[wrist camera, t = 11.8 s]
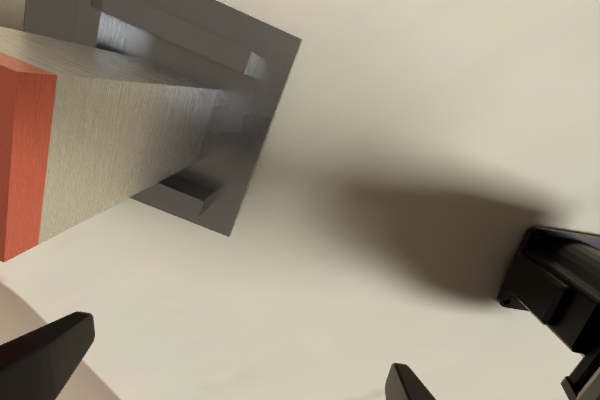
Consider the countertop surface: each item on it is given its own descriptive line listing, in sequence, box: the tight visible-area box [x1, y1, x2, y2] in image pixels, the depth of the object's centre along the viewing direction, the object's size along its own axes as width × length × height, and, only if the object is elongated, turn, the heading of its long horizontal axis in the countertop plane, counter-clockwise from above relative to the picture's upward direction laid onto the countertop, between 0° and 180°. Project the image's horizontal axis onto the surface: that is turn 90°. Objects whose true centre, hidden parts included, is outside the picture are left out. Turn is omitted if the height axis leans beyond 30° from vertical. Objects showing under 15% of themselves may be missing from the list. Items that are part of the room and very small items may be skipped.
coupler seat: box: [24, 0, 302, 237], centre depth 18 cm, size 16×14×3 cm
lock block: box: [0, 26, 218, 262], centre depth 13 cm, size 5×5×13 cm
